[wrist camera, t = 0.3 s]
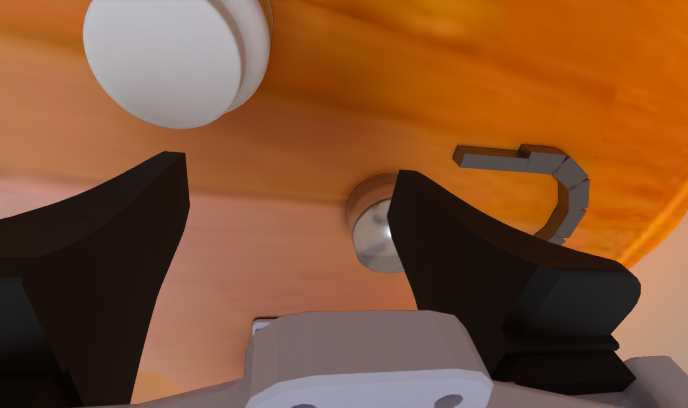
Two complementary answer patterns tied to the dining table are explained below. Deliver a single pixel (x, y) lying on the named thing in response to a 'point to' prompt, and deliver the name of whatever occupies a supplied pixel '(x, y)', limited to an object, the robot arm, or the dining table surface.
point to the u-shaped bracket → (544, 162)
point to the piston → (373, 224)
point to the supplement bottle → (178, 56)
